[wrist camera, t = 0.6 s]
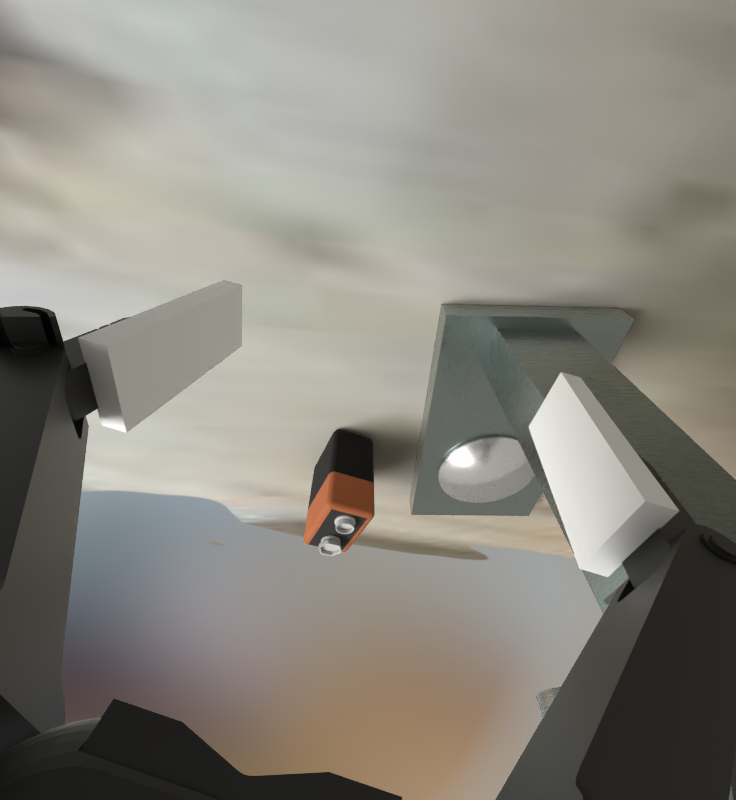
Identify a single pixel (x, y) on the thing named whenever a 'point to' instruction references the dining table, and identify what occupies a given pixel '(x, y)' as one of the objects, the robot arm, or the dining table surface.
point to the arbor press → (517, 406)
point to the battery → (341, 494)
